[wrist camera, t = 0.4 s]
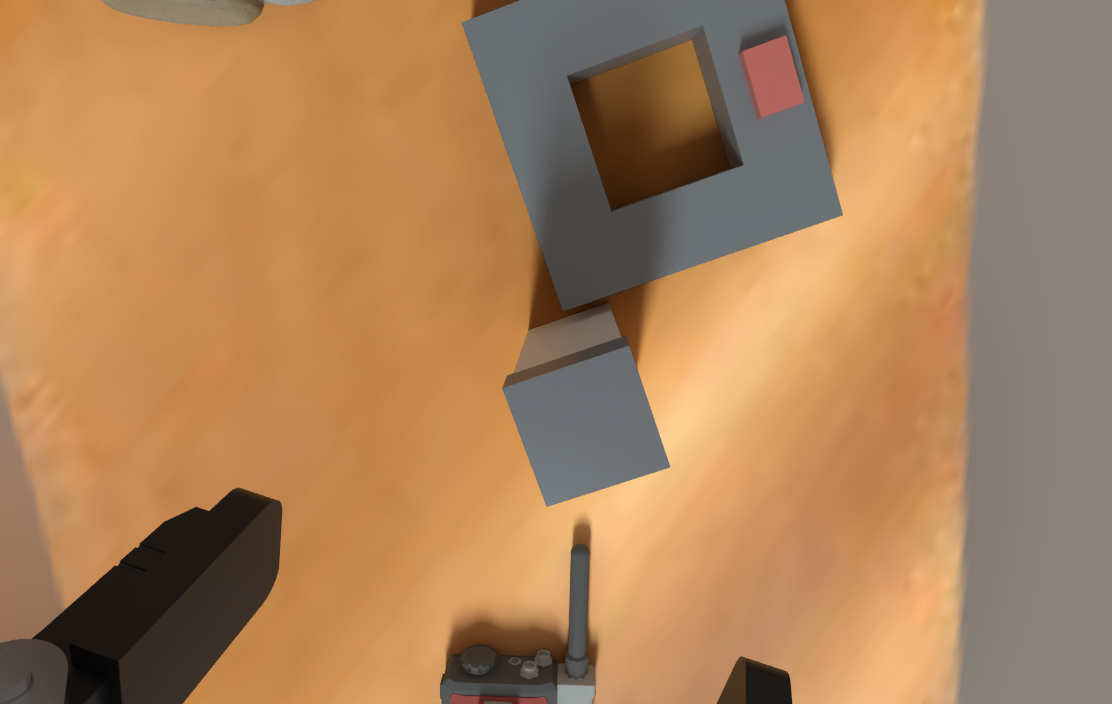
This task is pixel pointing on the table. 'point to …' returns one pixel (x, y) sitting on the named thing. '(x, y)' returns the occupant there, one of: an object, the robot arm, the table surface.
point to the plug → (582, 407)
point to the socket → (682, 212)
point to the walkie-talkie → (529, 662)
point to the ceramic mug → (198, 10)
